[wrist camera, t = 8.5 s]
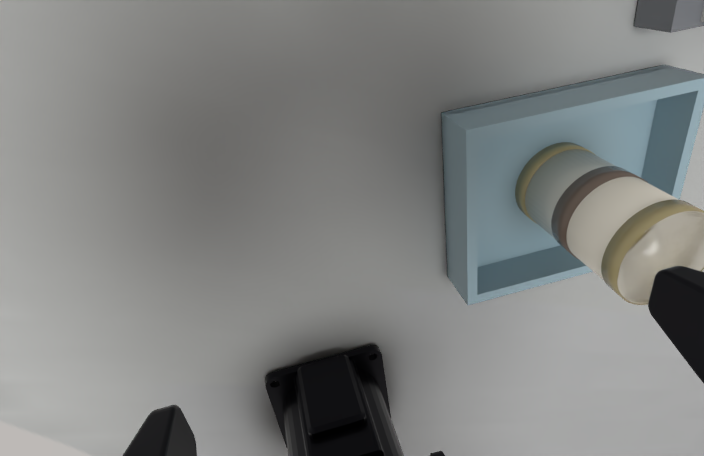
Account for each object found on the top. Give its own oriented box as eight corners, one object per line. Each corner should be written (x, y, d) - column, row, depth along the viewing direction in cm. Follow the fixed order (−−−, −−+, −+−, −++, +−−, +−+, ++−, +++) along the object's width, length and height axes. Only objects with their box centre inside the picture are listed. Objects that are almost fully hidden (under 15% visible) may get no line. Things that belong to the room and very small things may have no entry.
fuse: (586, 208, 24) (701, 289, 18) (513, 227, 24) (608, 316, 18) (597, 134, 22) (731, 197, 16) (517, 152, 22) (626, 225, 16)
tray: (630, 228, 26) (665, 251, 24) (447, 276, 25) (467, 305, 23) (664, 64, 22) (711, 76, 20) (441, 112, 20) (466, 130, 18)
